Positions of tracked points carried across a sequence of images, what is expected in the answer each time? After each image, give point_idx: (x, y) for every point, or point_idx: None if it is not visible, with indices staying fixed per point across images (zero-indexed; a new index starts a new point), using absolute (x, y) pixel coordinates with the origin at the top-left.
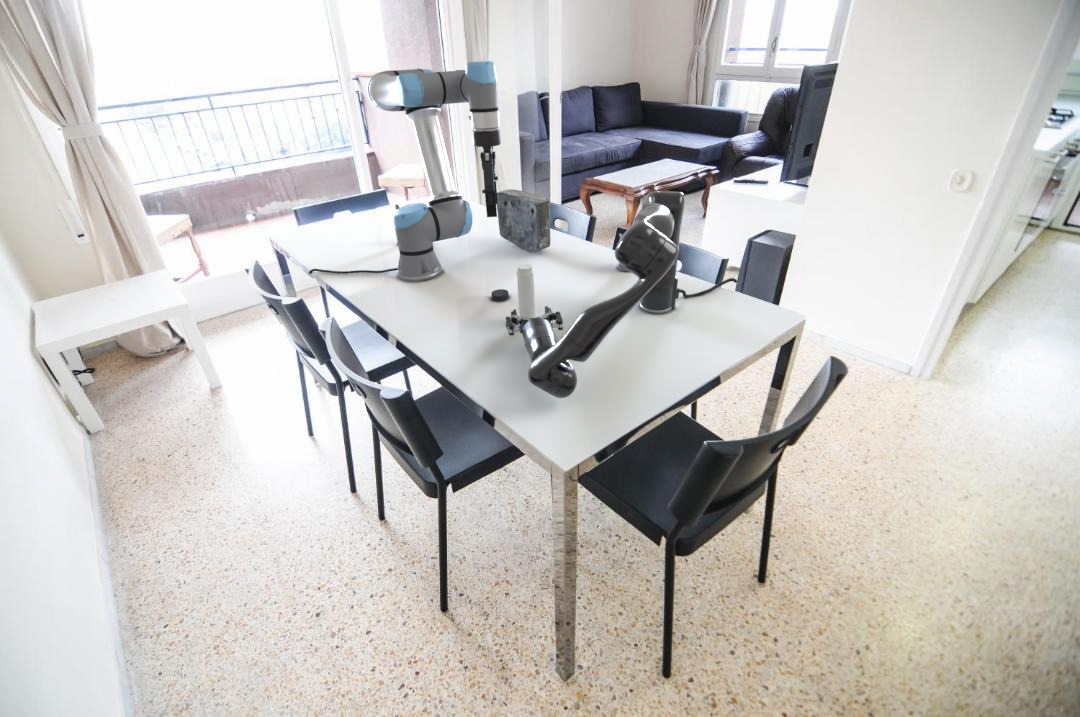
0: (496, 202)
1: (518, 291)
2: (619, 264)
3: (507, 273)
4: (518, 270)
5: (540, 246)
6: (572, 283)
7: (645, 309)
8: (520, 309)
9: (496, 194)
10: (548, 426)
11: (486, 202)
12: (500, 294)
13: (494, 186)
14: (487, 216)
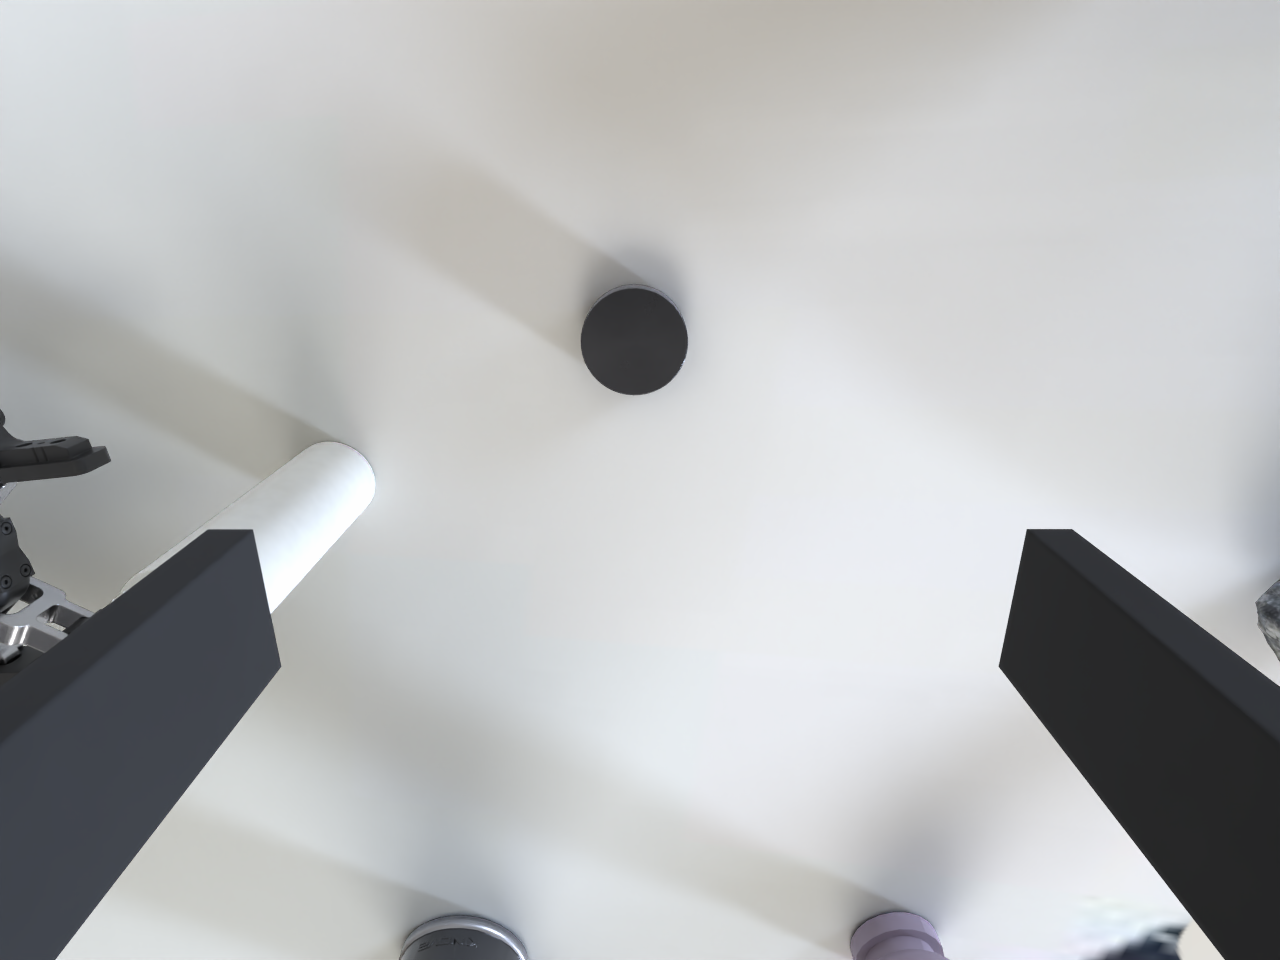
0: (1016, 668)
1: (222, 512)
2: (908, 932)
3: (1017, 379)
4: (125, 591)
5: (1267, 627)
6: (768, 710)
7: (420, 931)
8: (271, 474)
9: (1092, 775)
10: None
11: (24, 687)
12: (606, 346)
13: (1212, 899)
14: (205, 540)
